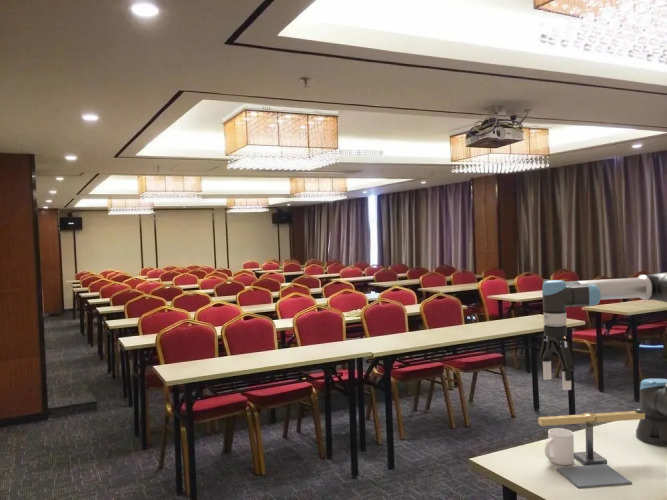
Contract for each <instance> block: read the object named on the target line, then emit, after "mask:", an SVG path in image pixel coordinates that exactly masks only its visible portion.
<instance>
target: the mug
mask: <svg viewBox="0 0 667 500" xmlns="http://www.w3.org/2000/svg"><path fill="white" fill-rule="evenodd" d="M547 434H548V437H547V438H548V439H547V441H546V443H545V444H544V445H545V446H544V454H545V457H546V458H547V459H548V460H549V461H550V462H551V463H553V464H554V465H557V466H558V465H559V466H571V465H572V464H574V461H575V458H574V453H575V451H574V450H575V449H574V448H575V446H574V445H575V444H574V442H575V441H574V432H573V431H571V430H570V429H567V428H563V427H562V428H560V427H555V428H550V429H548V432H547Z"/></svg>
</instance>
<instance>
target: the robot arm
mask: <svg viewBox="0 0 667 500" xmlns="http://www.w3.org/2000/svg"><path fill="white" fill-rule="evenodd" d="M541 295H542V308H543V309H542V310H543V315H542V318H543V323H544V324H543V335H542V343H541V346H540V347H541V348H540V351H539V356H538V357H539V359H541V361H542V372H543V373H542V375H543V376H542V377H543V380H544V381H546V380H552V359H551V358H552V356H553V354H554V352H555V354H556V355H557V357H558V360H559V362H560V365H561V367H562V370H561V374H562V375H561V378H562V379H561V380H562V390H563V391H571V390H572V371H573V372H574V371H576V367H575V363H574V360H573V355H572V351H571V348H570V342H569V340H567V341H566V340H565V341H564V337H566V336H568V326H567V325H566V324H567V317H568V316H567V308H570V307H591V306H597V305H599V304H600V302H601V300H605V301H606V300H621V299H640V300H642V301H657V302H662V303H663V302H664V303H667V272H666V271H665V272H659V273H651V274H650V273H649V274H641V275H639V276H637V277H628V278H627V277H626V278H625V277H624V278H611V279H610V278H609V279H608V278H607V279H588V280H570V281H564V280H563V279H562V280H561V279H555V280H554V279H550V280H545V281H544V282H542V293H541ZM639 391H640V408H642V409H644V413H645V419H639V421H638V424H637V427H636V430H635V436H636V438H637V439H638V440H639V441H641V442H644V443H646V444H649V445H655V446H660V447H667V378H644V379H642V380H641V381H640V387H639Z"/></svg>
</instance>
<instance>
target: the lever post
mask: <svg viewBox="0 0 667 500" xmlns="http://www.w3.org/2000/svg"><path fill="white" fill-rule="evenodd" d="M584 424H585V425H584V427H585V451H578V452H576V451H574V460H575V459H576V460H577V461H578V462H579V463H581V464H582V466H587V465H601V464H607V465H608V459H606V458H605V457H604V456H602V455H600V454H599V453H598V452H596V451H595V450H594V424H587V423H584Z"/></svg>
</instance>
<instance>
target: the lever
mask: <svg viewBox="0 0 667 500" xmlns="http://www.w3.org/2000/svg"><path fill="white" fill-rule="evenodd" d="M640 419H645V413H644V409H642V408H641V407H636V408H635V410H630V411H629V410H628V411H613V412H597V413H596V412H595V413H593V412H591V413H590V412H583V413H582V414H581V413H580V414H567V415H556V416H555V415H550V416H539V417H538V419H537V420H538V422H537V423H538V425H539V426H541V427H546V426H562V425H573V424H574V425H575V424H578V425H579V424H585V423H587V424H593V425H595V424H596V423H603V422H604V423H605V422H620V421H621V422H623V421H634V420H640Z"/></svg>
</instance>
